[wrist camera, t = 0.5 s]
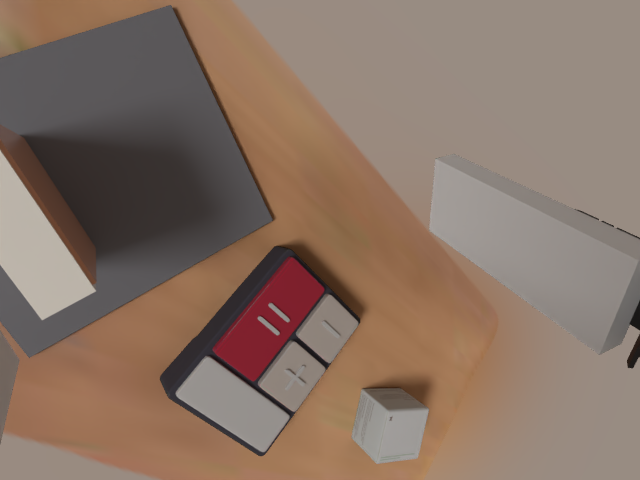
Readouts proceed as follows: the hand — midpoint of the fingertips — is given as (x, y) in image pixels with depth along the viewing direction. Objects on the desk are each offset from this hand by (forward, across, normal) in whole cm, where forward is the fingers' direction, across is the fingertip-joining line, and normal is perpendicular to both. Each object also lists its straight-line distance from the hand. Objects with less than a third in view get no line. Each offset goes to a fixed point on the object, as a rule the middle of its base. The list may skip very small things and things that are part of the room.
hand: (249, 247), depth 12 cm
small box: (+15, +13, -35) cm, 40 cm away
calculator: (+18, +3, -22) cm, 29 cm away
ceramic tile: (+21, -10, -5) cm, 24 cm away
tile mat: (+22, -6, -5) cm, 23 cm away
